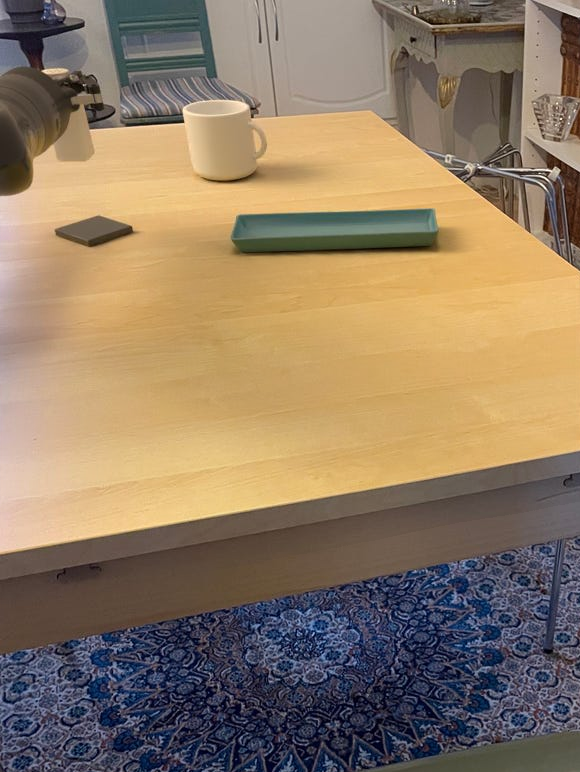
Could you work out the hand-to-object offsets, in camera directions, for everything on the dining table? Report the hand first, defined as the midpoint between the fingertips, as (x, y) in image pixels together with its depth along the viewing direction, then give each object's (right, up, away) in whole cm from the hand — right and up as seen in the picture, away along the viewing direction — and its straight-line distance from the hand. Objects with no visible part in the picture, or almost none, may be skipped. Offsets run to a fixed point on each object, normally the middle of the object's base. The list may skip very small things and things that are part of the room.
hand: (64, 80), depth 114 cm
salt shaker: (0, -8, +3) cm, 9 cm away
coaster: (0, -14, +10) cm, 17 cm away
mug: (+13, +3, +30) cm, 33 cm away
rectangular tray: (+32, -16, +9) cm, 37 cm away
